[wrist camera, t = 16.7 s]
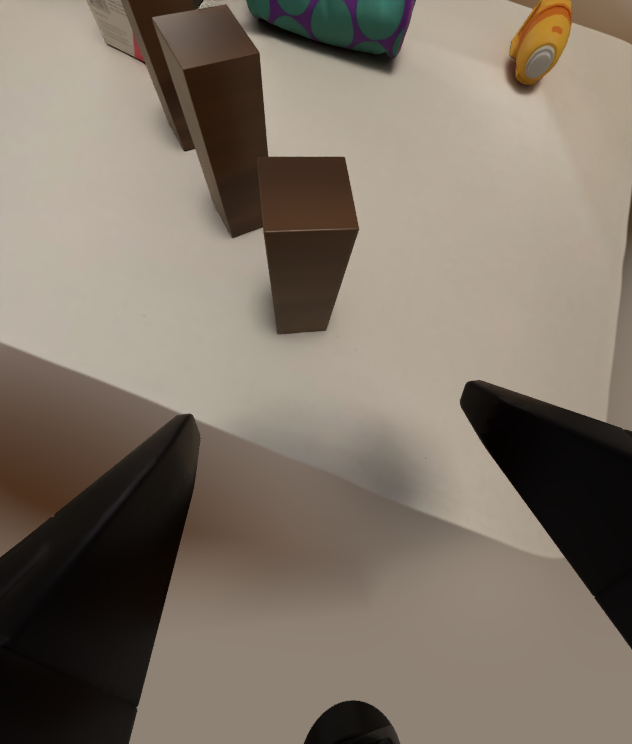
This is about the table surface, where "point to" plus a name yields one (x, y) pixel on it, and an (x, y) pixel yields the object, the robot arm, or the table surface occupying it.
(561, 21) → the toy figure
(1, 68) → the table surface
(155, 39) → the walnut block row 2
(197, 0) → the picture frame
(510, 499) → the table surface
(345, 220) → the walnut block loose
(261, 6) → the pencil case
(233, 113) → the walnut block
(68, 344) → the table surface
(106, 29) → the ink box
